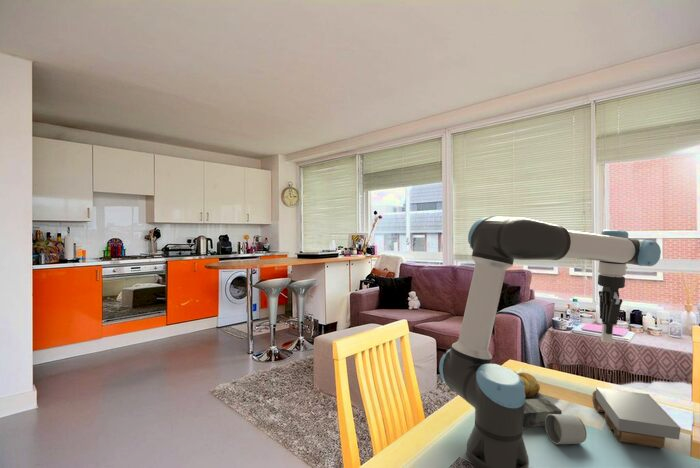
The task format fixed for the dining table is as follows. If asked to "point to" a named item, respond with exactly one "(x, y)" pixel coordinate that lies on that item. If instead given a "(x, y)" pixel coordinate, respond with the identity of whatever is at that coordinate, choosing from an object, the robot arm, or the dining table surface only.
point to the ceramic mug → (565, 429)
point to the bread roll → (529, 384)
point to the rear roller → (597, 403)
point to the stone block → (538, 412)
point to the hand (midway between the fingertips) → (606, 342)
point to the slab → (637, 413)
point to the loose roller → (639, 438)
